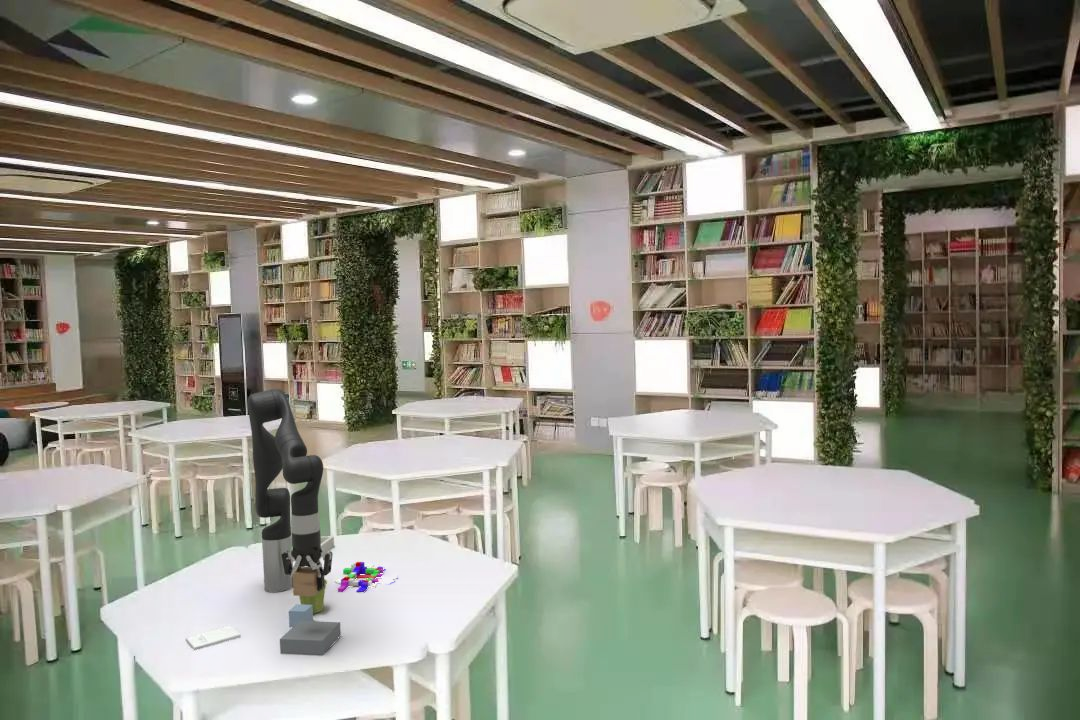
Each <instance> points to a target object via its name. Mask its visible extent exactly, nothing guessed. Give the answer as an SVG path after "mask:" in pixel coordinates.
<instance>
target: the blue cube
mask: <svg viewBox="0 0 1080 720" xmlns="http://www.w3.org/2000/svg"><path fill="white" fill-rule="evenodd" d="M299 621H314V614H313V606H312V605H302V604H301V603H300V604H295V605H294V606H292V607H291V608H290V609H289V610H288V624H289V626H288V627H289V628H290V627H293V626H295V625H296V624H297V623H298V622H299Z"/></svg>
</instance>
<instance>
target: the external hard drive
mask: <svg viewBox="0 0 1080 720" xmlns="http://www.w3.org/2000/svg"><path fill="white" fill-rule="evenodd" d="M236 638H237V639H240V638H241V633H240V632H239V631H238V630H237V629H236V628H235V627H234V626H232V625H228V626H225V627H221V628H218V629H214V630H210V631H207V632H203V633H200V634H196V635H193V636H189V637H186V638H185V642H186V641H187V642H186V643H187V645H188V646H190V648H191V649H192V648H193V649H194V650H193V651H198V650H201V649H204V647H205V648H208V647H211V645H212V646H215V645H218V644H222V643H225V641H226V642H229V640H230V641H232V640H237V639H236ZM197 649H198V650H197Z"/></svg>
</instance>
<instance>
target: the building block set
mask: <svg viewBox="0 0 1080 720" xmlns="http://www.w3.org/2000/svg"><path fill="white" fill-rule="evenodd" d="M373 566H374V567H373ZM367 567H369V568H367ZM372 567H373V568H372ZM383 568H384V567H383V566H377V567H376V568H375V565H374V564H365V561H354V563H352V564H351V566H350V567H344V569H343V570H342V574H343V575H346V576H344V577H343V578H338V579H336V580H335V581H334V583H335V584H337V585H340V586H339V587H338V588H337V593H344V592H345V591H346V590H347V589H348V588H349V587H348V586H354V587H356V586H357V587H358V586H361V587H358V589H356V591H355V593H356V592H364V591H365V590H366V589H367V587H368V586H372V587H374V586H376V585H377V586H378V584H375V582H379V580H380V581H381V579H379V578H376V577H381V576H382V575H384V573H383V571H384V570H383ZM384 572H385V571H384ZM366 573H367V574H366ZM380 573H383V574H380ZM360 574H366V575H360ZM370 574H372V575H370ZM356 578H357V579H356ZM367 578H368V579H367ZM375 578H376V579H375ZM355 579H356V580H355ZM372 583H374V584H372ZM377 586H376V587H377ZM347 587H348V588H347ZM346 588H347V589H346ZM368 588H369V587H368ZM345 589H346V590H345ZM344 590H345V591H344ZM367 590H368V589H367ZM367 590H366V591H367ZM343 591H344V592H343ZM366 591H365V592H366ZM365 592H364V593H365Z"/></svg>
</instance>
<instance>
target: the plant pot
mask: <svg viewBox="0 0 1080 720" xmlns="http://www.w3.org/2000/svg"><path fill="white" fill-rule="evenodd" d="M324 582H325V585H324V588H323V589H322V590H321V591H320V592H319V593H318V594H317V595H315V596H298V597H299V601H300V604H302V605H312V606H313V615H314V614H317V613H319V612H322V611H323V609H324V601H325V593H326V592H325V591H326V587H327V584H328V579H325V578H324Z"/></svg>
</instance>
